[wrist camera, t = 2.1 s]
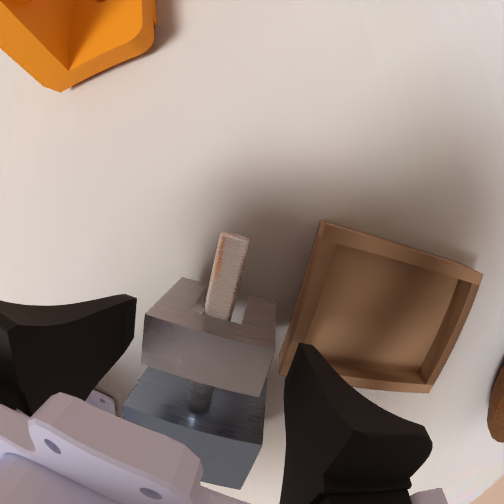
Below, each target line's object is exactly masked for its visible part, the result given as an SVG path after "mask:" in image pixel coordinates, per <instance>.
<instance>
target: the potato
mask: <svg viewBox="0 0 504 504" xmlns="http://www.w3.org/2000/svg"><path fill="white" fill-rule="evenodd" d="M487 424H488V428H489V431H490V434H491V436H492V438H493V439H495V440H496V441H498V442H501V443H502V442H504V366H503V367H502V369H501V370H500V373H499V375H498V377H497V379H496V382H495V384H494V387H493V391H492V395H491V399H490V402H489V408H488V416H487Z"/></svg>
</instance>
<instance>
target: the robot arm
mask: <svg viewBox="0 0 504 504" xmlns="http://www.w3.org/2000/svg"><path fill="white" fill-rule="evenodd" d="M136 303H137V298H135V297H132V296H129V295H126V294H121V295H115V296H110V297H105V298H101V299H96V300H92V301H86V302H80V303H75V304H68V305H56V306H34V305H22V304H15V303H9V302H4V301H0V504H250V503H247V502H244V501H241V500H238V499H235V498H232V497H229V496H226V495H224V494H221V493H218V492H216V491H213V490H211V489H208V488H206V487H203V486H201V484H200V481H201V477H202V474H203V468H202V464H201V461H200V458H199V457H197V456H196V455H195V454H194V453H193V452H192V451H191V450H190V449H189V448H188V447H186V446H185V445H184V444H183V443H180V442H178V441H176V440H174V439H172V438H170V437H168V436H166V435H164V434H161V433H158V432H155V431H152V430H150V429H147V428H144V427H142V426H139V425H137V424H134V423H132V422H129V421H127V420H124V419H122V418H120V417H117V416H116V412H115V402H114V400H113V399H112V398H110V397H108V396H106V395H104V394H102V393H100V392H97V391H95V390H93V389H94V387H95V386H96V385H97V384H98V382H99V381H100V380H101V379H102V378H103V376H104V375H105V374H106V373H107V372H108V371H109V370H110V369H111V367H112V366H113V365H114V364H115V363H116V362H117V361H118V359H119V358H120V357H121V356H122V355H123V354H124V352H125V351H126V349H127V348H128V346H129V345H130V343H131V341H132V340H133V338H134V328H135V315H136ZM284 413H285V429H286V454H285V466H284V475H283V484H282V491H281V498H280V504H448V503H447V500H446V498H445V495H444V493H443V490H442V488H437V489H432V490H427V491H421V492H418V493H415V494H413V495H411V496H409V493H408V490H407V489H410V488H411V486H412V484H411V481H410V477H411V476H412V475H413V474H414V473H415V472H416V471H417V470H418V469H419V468H420V467H421V466H422V464H423V463H424V462H425V461H426V459H427V458H428V457H429V455H430V453H431V451H432V441H431V439H430V437H429V435H428V433H427V431H426V429H425V427H424V426H422V425H419V424H417V423H414V422H411V421H408V420H405V419H403V418H400V417H398V416H396V415H394V414H392V413H390V412H388V411H386V410H384V409H382V408H381V407H379V406H377V405H376V404H374V403H373V402H371V401H369V400H368V399H367V398H365V397H364V396H362V395H361V394H360V393H359V392H357V391H356V390H355V389H354V388H352V387H351V386H350V385H349V384H348V383H347V382H346V381H345V380H344V379H343V378H342V377H341V376H340V375H339V374H338V373H337V372H336V371H335V370H334V369H333V368H332V366H331V365H330V364H329V363H328V362H327V361H326V359H325V358H324V357H323V356H322V355H321V354H320V352H319V351H318V350H317V349H316V348H315V347H314V346H313V345H310V344H305V343H300V342H299V344H298V347H297V349H296V352H295V355H294V358H293V360H292V363H291V366H290V368H289V371H288V373H287V376H286V379H285V387H284Z"/></svg>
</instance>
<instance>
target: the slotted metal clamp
mask: <svg viewBox="0 0 504 504" xmlns="http://www.w3.org/2000/svg"><path fill="white" fill-rule="evenodd" d="M207 286H208V284H206V283H202V282H198V281H195V280H191V279H187V278H184V277H182V278H181V279H180V280H179V281H178V282H177V283H176V284H175V285H174V286H173V287H172V288H171V289H170V290H169V291H168V292H167V293H166V294H165V295H164V296H163V297H162V298H161V299H160V300H159V301H158V302H157V303H156V304H155V305H154V306H153V307H152V308H151V309H150V310H149V311H148V312H147V313H146V314H145V319H144V331H143V343H142V358H141V364H144V365H147V366H150V367H152V368H155V369H158V370H161V371H164V372H167V373H170V374H173V375H176V376H180V377H183V378H186V379H189V380H193V381H196V382H200V383H203V384H207V385H210V386H214V387H218V388H222V389H225V390H229V391H233V392H238V393H242V394H246V395H251V396H255V397H259V396H260V393H261V390H262V387H263V384H264V381H265V379H266V376H267V373H268V370H269V367H270V364H271V361H272V358H273V355H274V352H275V301H272V300H268V299H264V298H259V297H255V296H252V295H249V297H248V301H247V305H246V309H245V312H244V316H243V320H242V324H238V323H234V322H230V321H226V320H222V319H219V318H215V317H211V316H208V315H204V314H202V311H203V306H204V301H205V296H206V291H207Z"/></svg>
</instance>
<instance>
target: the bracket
mask: <svg viewBox="0 0 504 504" xmlns="http://www.w3.org/2000/svg"><path fill="white" fill-rule="evenodd" d="M154 25H157V12H156V0H0V48H1V49H2V50H3V51H4V52H5V53H6V54H8V55H9V56H10V57H11V58H12V59H13V60H14V61H15V62H17V63H18V64H19V65H20V66H21V67H22V68H23V69H24V70H26V71H27V72H28V73H29V74H30V75H31V76H32V77H34V78H35V79H36V80H37V81H38V82H39V83H40V84H41V85H43V86H44V87H47V88H50V89H52V90H55V91H58V92H62V91H64V90H66V89H68V88H70V87H71V86H73V85H75V84H77V83H79V82H81V81H83V80H85V79H87V78H89V77H91V76H93V75H95V74H97V73H99V72H101V71H103V70H105V69H107V68H110V67H112V66H114V65H116V64H119V63H121V62H123V61H126V60H128V59H131V58H133V57H136V56H138V55H141V54H143V53H144V52H146V51H147V50H148V49H149V48H150V47H151V46H152V44H153V42H154Z"/></svg>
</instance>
